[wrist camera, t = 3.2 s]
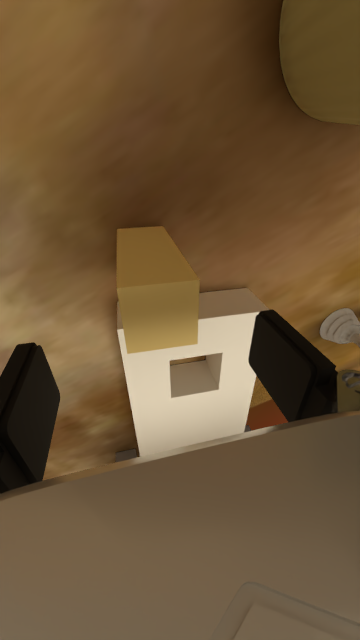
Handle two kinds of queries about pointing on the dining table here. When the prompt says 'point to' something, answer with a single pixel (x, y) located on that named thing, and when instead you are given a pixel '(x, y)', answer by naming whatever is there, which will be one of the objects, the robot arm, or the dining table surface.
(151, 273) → the peg
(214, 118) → the dining table surface
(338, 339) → the chalice
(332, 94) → the potted cactus
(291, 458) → the robot arm
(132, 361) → the socket block
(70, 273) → the dining table surface
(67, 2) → the dining table surface
